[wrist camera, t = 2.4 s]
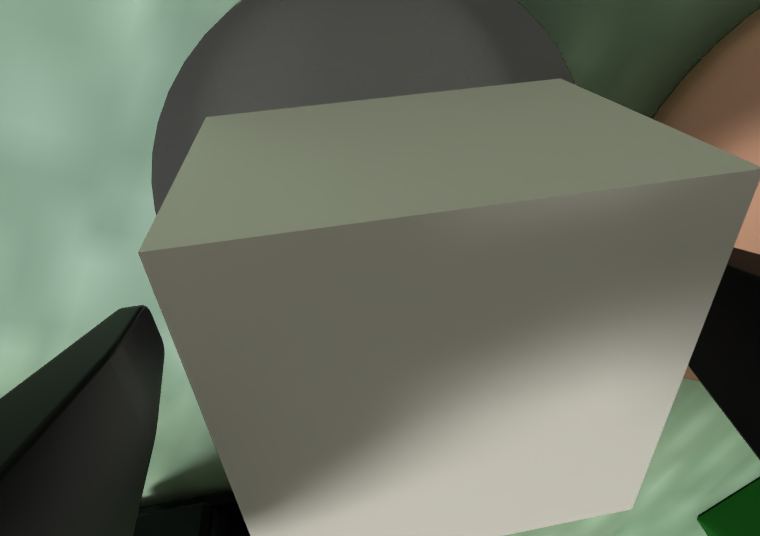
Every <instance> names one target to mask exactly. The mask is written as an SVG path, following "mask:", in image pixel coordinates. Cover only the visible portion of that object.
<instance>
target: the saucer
mask: <svg viewBox="0 0 760 536" xmlns="http://www.w3.org/2000/svg"><path fill="white" fill-rule="evenodd" d="M653 119H654V120H656V121H658V122H660V123H663V124H665V125H667V126H669V127H672V128H674V129H676V130H678V131H681V132H683V133H685V134H687V135H690V136H692V137H694V138H697V139H699V140H701V141H703V142H706V143H708V144H710V145H712V146H715V147H717V148H719V149H721V150H724V151H726V152H728V153H730V154H733V155H735V156H737V157H739V158H742V159H744V160H746V161H749V162H751V163H753V164H755V165H758V166H760V8H759V9H758V10H756V11H755V12H753V13H752V14H751V15H749V16H748V17H747V18H745V19H744V20H743V21H742V22H741V23H740V24H739V25H737V26H736V27H735V28H734V29H733V30H732V31H731V32H729V33H728V34H727V35H726V36H725V37H724V38H723V39H721V40H720V41H719V42H718V43H717V44H716V45H715V46H714V47H713V48H712V49H711V50H710V51H709V52H708V53H707V54H706V55H705V56H704V57H703V58H702V59H701V60H700V61H699V62H698V63H697V64H696V65H695V66H694V67H693V69H692V70H691V71H690V72H689V73H688V74H687V75H686V76H685V77H684V78H683V79H682V81H681V82H680V83H679V84H678V86H677V87H676V88H675V89H674V91H673V92H672V93H671V94H670V96H669V97H668V98H667V99H666V101H665V102H664V103H663V104H662V106H661V107H660V108H659V110H658V111H657V113H656V114H655V116H654V117H653ZM734 247H735V248H738V249H742V250H746V251H749V252H753V253H757V254H760V180H759V183H758V186H757V188H756V191H755V193H754V196H753V198H752V201H751V204H750V206H749V209H748V211H747V214H746V217H745V219H744V222H743V224H742V227H741V229H740V232H739V235H738V237H737V240H736V242H735V245H734ZM683 378H687V379H692V380H696V381H699V379H698V378H697V377H696V375H695V374H694V373H693V372H692V370H691V369H690V368H689V366H687V369H686V371H685V374H684V376H683Z"/></svg>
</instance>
